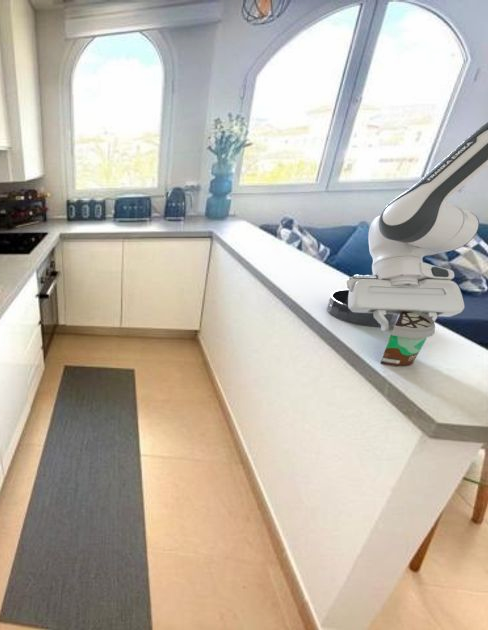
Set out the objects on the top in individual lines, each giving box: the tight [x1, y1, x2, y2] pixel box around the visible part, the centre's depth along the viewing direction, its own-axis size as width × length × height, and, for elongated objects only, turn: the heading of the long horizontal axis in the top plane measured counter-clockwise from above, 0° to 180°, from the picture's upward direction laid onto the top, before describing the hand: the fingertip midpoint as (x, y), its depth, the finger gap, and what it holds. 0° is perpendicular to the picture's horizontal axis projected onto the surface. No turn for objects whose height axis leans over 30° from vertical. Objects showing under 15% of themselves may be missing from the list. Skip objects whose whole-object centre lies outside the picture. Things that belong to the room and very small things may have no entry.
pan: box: [326, 288, 400, 328], centre depth 97 cm, size 16×16×4 cm
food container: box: [380, 310, 436, 367], centre depth 75 cm, size 12×6×10 cm, turn 133°
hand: (407, 331), depth 77 cm, fingers closed on food container, 6 cm apart
